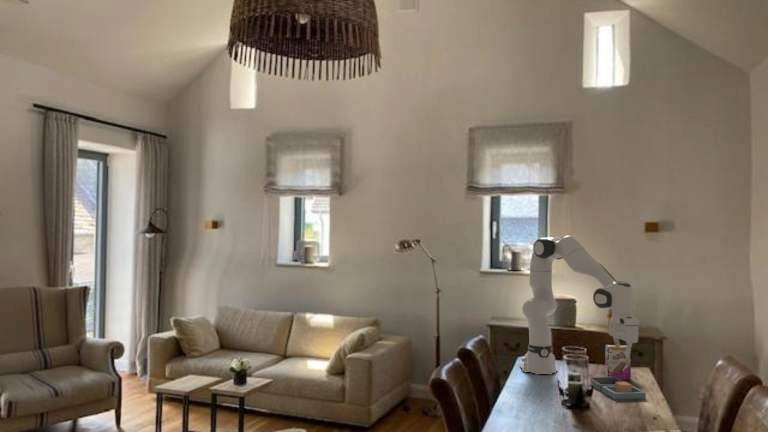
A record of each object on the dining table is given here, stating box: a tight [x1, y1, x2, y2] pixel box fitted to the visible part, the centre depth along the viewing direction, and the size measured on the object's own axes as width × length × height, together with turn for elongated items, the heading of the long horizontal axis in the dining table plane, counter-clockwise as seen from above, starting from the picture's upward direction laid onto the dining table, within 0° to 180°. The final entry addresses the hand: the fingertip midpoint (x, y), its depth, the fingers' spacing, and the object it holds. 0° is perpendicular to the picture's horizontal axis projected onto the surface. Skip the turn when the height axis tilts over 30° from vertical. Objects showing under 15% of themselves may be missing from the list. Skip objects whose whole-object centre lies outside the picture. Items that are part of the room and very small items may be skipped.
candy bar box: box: [604, 344, 632, 381], centre depth 287 cm, size 11×5×16 cm, turn 84°
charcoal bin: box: [590, 376, 625, 393], centre depth 273 cm, size 14×14×3 cm
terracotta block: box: [615, 381, 633, 393], centre depth 258 cm, size 5×5×5 cm
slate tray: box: [601, 385, 646, 401], centre depth 258 cm, size 12×14×3 cm
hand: (622, 349), depth 259 cm, fingers open, 8 cm apart
